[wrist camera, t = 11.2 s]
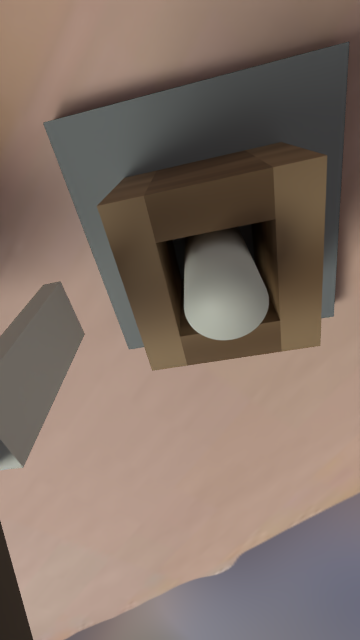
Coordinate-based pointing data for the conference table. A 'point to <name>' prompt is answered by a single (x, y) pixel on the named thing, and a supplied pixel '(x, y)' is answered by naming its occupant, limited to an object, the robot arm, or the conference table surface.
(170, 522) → the conference table surface
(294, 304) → the collar
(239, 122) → the post stand
